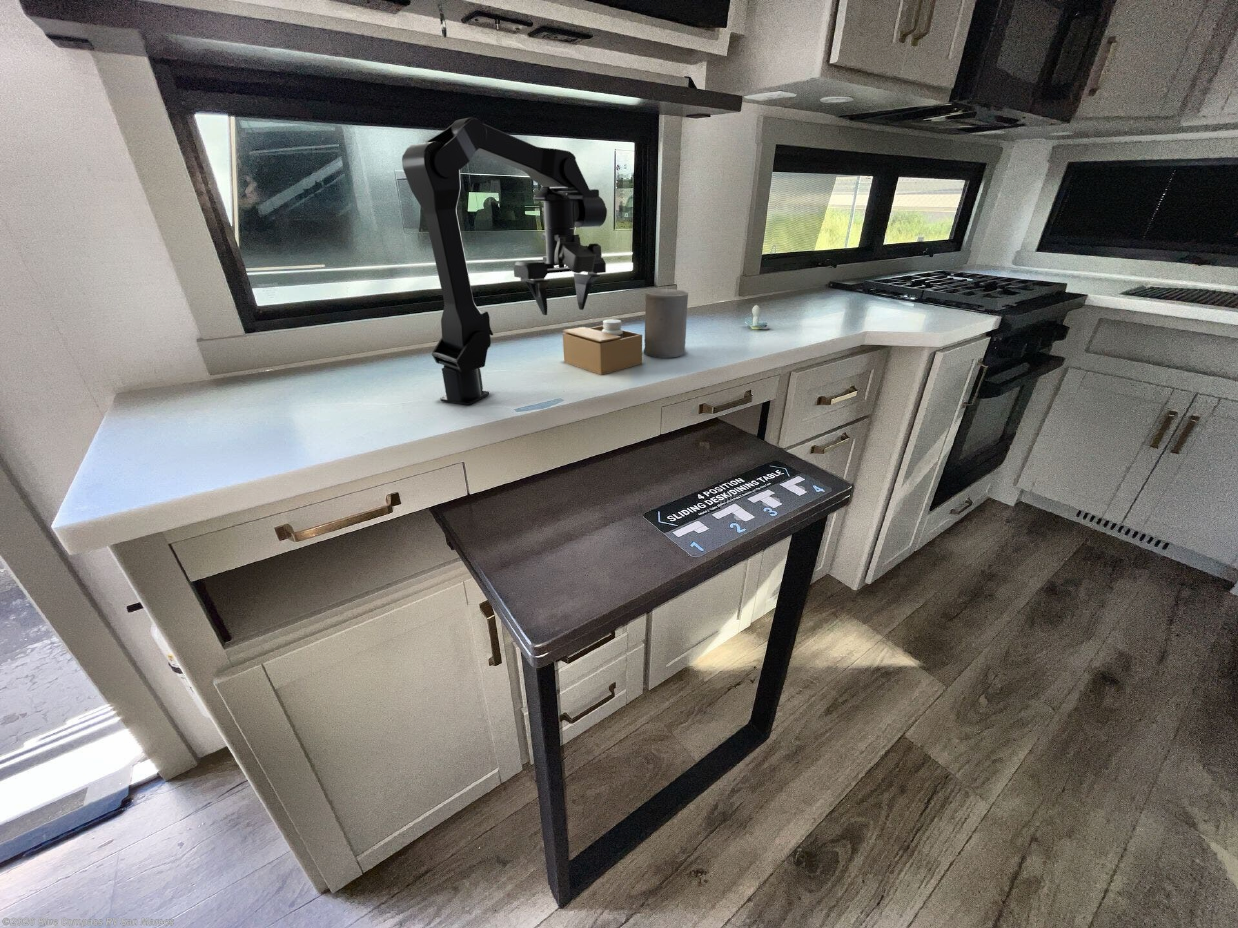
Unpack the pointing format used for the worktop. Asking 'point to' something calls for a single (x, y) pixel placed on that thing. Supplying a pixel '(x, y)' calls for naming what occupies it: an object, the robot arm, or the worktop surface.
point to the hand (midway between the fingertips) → (563, 312)
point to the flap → (592, 334)
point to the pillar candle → (665, 322)
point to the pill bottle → (612, 328)
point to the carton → (603, 352)
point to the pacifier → (756, 320)
